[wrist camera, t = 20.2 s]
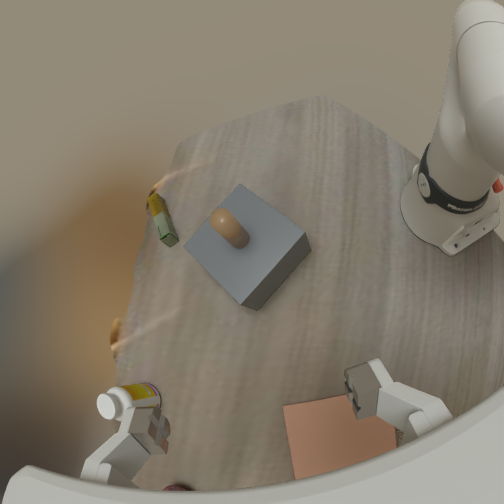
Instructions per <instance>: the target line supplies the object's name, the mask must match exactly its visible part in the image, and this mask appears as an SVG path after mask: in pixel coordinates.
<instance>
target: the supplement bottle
mask: <svg viewBox="0 0 504 504" xmlns="http://www.w3.org/2000/svg"><path fill="white" fill-rule="evenodd" d="M160 403H161V400H160V395H159V393H158V391H157V390H156V389H155V387H153V386H152V385H150V384H148V383H140V384H133V385H126V386H118V387H113V388H111V389H110V390H108V392H107V393H105V394H101V395H99V397H98V399H97V407H98V410H99V412H100V413H101V415H102V416H103V417H104V418H106V419H116V420H118V421H122V419H123V416H124V413H125V410H126V409H127V408H128V407H150V406H158V407H160Z"/></svg>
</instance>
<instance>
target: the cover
mask: <svg viewBox="0 0 504 504" xmlns="http://www.w3.org/2000/svg"><path fill="white" fill-rule="evenodd" d="M183 247H184V248H185V249H186V250H187V251H188V252H189V253H190V254H191V255H192V256H193V257H194V258H195V259H196V260H197V261H198V262H199V263H200V264H201V265H202V266H203V268H204V269H205V270H206V271H207V272H208V273H209V274H210V275H211V276H212V277H213V278H214V279H215V280H216V281H217V282H218V283H219V284H220V285H221V286H222V287H223V288H224V289H225V290H226V291H227V292H228V293H229V294H230V295H231V296H232V297H233V298H234V299H235V300H236V301H237V302H238V303H239V304H240V305H243V306H246V307H248V308H251V309H254V310H258V309H259V308H260V307H261V306H262V305H263V304H264V303H265V302H266V301H267V299H268V298H269V297H270V296H271V295H272V294H273V293H274V292H275V291H276V289H277V288H278V287H279V286H280V285H281V284H282V283H283V282H284V280H285V279H286V278H287V277H288V276H289V275H290V274H291V273H292V271H293V270H294V269H295V268H296V267H297V266H298V265H299V263H300V262H301V261H302V260H303V259H304V258H305V257H306V255H307V254H308V253H309V252H310V251H311V249H310V245H309V242H308V239H307V236H306V232H305V231H304V230H302V229H301V228H300V227H298V226H297V225H296V224H295V223H293V222H292V221H291V220H289V219H288V218H287V217H285V216H284V215H283V214H281V213H280V212H279V211H277V210H276V209H275V208H273V207H272V206H271V205H269V204H268V203H266V202H265V201H264V200H262V199H261V198H260V197H258V196H257V195H255V194H254V193H253V192H251V191H250V190H249V189H247V188H246V187H244V186H243V185H242V184H239V185H238V186H237V187H236V188H235V189H234V191H233V192H232V193H231V194H230V195H229V196H228V197H227V198H226V199H225V200H224V201H223V202H222V203H221V205H220V206H219V207H218V208H217V209H216V210H215V211H214V212H213V213H212V214H211V216H210V217H209V218H208V219H207V220H206V221H205V222H204V223H203V224H202V226H201V227H200V228H199V229H198V230H197V231H196V232H195V233H194V235H193V236H192V237H191V238H190V239H189V240H188V241H187V242H186V244H185V245H184V246H183Z"/></svg>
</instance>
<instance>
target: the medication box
mask: <svg viewBox="0 0 504 504" xmlns="http://www.w3.org/2000/svg"><path fill="white" fill-rule="evenodd" d="M147 199H148V202H149V206H150V209H151V212H152V215H153V219H154V222H155V225H156V228H157V231H158V234H159V237H160V240H161V241H162V242H163V243H165V244H166V245H168V246H169V247H171V246H173V245H175V244H176V243H177V242H178V241H179V240H178V238H177V235H176V232H175V229H174V226H173V224H172V221H171V218H170V215H169V213H168V210H167V207H166V204H165V201H164V200H163V198H162V197H161V196H160V195H158V194H157V193H155V194H153V195H151V196H150V197H149V198H147Z"/></svg>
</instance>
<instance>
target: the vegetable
mask: <svg viewBox="0 0 504 504" xmlns="http://www.w3.org/2000/svg"><path fill="white" fill-rule="evenodd" d="M164 490H167V491H188V490H186V489H184V488H182V487H179V486H174V485H171V486H167V487H166V488H165V489H164Z"/></svg>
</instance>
